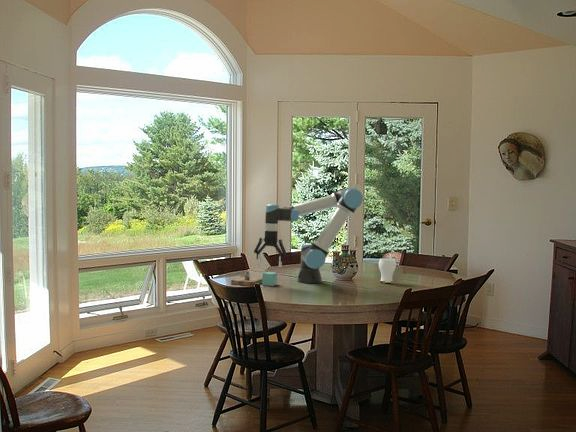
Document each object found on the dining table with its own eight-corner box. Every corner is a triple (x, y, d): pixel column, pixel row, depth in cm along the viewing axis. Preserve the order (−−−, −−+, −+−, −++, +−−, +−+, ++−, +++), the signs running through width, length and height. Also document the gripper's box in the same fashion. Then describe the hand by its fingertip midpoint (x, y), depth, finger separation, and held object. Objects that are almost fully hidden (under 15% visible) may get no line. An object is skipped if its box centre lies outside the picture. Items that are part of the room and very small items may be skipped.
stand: (262, 283, 376) (262, 270, 375) (252, 286, 362) (253, 273, 362) (241, 280, 380) (241, 268, 380) (231, 284, 367) (231, 271, 367)
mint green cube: (276, 284, 373) (277, 272, 372) (272, 286, 366) (273, 274, 366) (266, 283, 375) (266, 271, 374) (262, 285, 369) (262, 273, 368)
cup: (396, 282, 394) (398, 259, 393) (392, 285, 384) (393, 260, 383) (380, 281, 398) (381, 257, 398) (375, 283, 389) (376, 259, 388)
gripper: (293, 231, 368) (291, 267, 369) (254, 228, 377) (252, 263, 378) (288, 232, 361) (286, 268, 362) (249, 229, 369) (247, 264, 371)
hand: (269, 266), depth 370 cm, fingers open, 13 cm apart
